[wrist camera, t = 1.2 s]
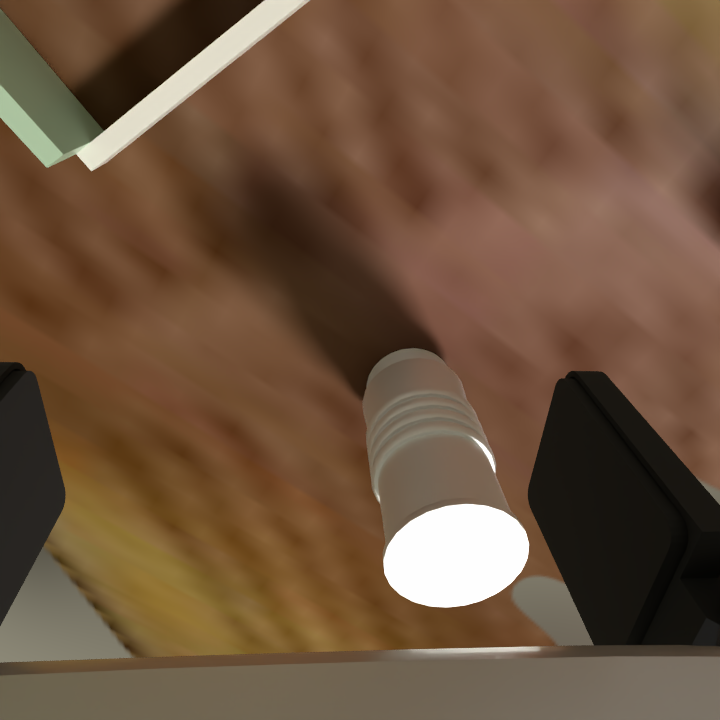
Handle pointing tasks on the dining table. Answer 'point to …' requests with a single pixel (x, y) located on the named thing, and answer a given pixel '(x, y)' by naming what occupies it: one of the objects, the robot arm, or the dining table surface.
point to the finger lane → (94, 145)
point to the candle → (437, 486)
